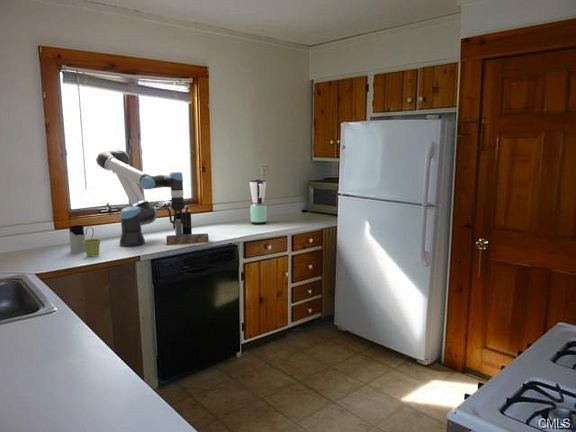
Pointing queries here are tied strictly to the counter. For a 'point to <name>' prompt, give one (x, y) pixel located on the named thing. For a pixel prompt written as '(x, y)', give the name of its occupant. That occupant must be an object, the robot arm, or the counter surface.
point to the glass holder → (77, 238)
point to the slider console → (187, 239)
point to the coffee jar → (187, 225)
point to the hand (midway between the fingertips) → (179, 233)
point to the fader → (178, 227)
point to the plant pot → (92, 247)
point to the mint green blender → (258, 202)
